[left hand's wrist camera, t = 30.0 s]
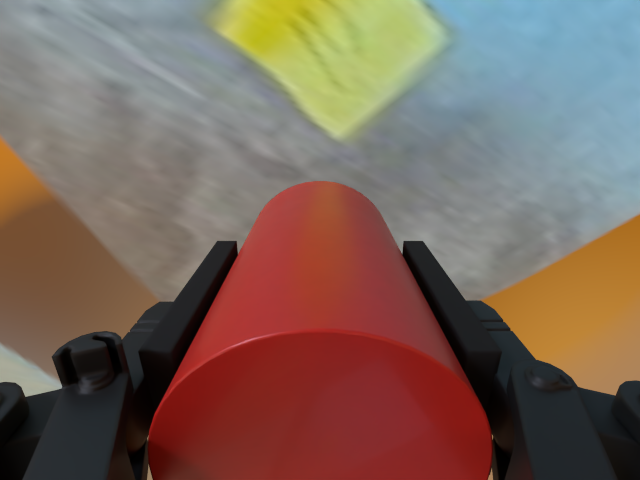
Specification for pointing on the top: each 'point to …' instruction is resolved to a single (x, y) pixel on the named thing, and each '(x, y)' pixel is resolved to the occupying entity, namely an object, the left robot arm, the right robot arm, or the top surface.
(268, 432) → the tin
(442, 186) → the top surface
